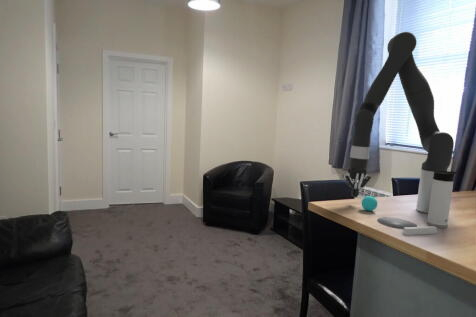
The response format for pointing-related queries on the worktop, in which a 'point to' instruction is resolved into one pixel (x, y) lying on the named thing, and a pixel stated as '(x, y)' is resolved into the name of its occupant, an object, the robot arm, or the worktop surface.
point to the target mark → (396, 222)
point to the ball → (369, 203)
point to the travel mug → (440, 199)
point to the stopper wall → (420, 230)
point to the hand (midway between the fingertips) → (354, 196)
